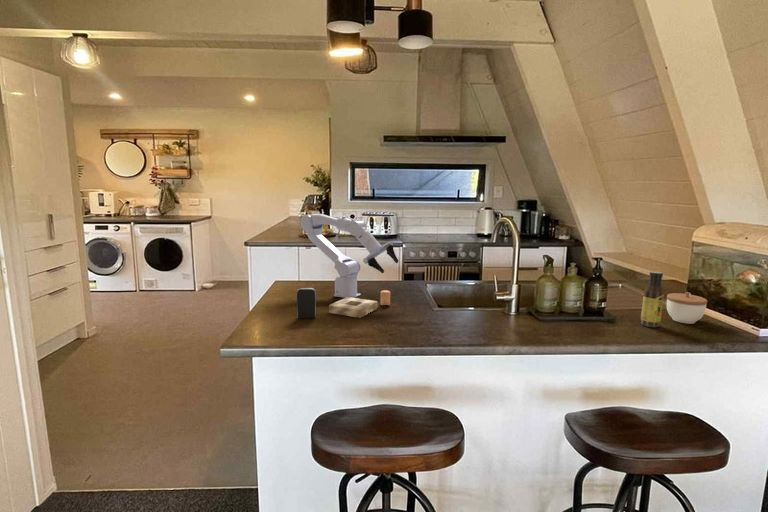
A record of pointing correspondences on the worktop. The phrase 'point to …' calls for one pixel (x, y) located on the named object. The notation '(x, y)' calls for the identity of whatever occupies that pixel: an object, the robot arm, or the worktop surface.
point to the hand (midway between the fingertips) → (390, 267)
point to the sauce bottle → (652, 301)
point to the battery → (306, 303)
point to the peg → (385, 297)
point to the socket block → (353, 307)
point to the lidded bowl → (685, 307)
